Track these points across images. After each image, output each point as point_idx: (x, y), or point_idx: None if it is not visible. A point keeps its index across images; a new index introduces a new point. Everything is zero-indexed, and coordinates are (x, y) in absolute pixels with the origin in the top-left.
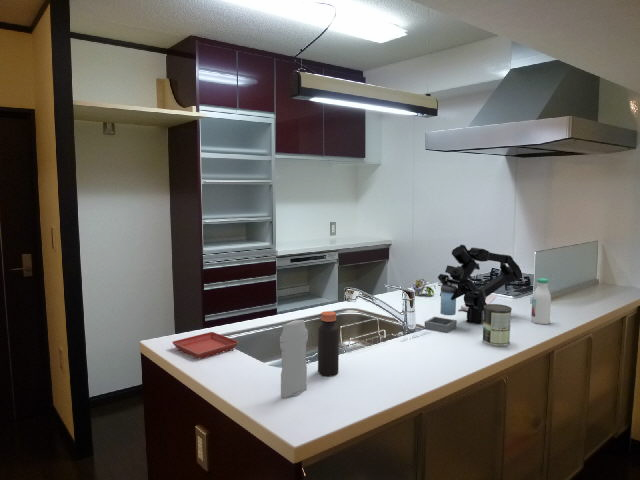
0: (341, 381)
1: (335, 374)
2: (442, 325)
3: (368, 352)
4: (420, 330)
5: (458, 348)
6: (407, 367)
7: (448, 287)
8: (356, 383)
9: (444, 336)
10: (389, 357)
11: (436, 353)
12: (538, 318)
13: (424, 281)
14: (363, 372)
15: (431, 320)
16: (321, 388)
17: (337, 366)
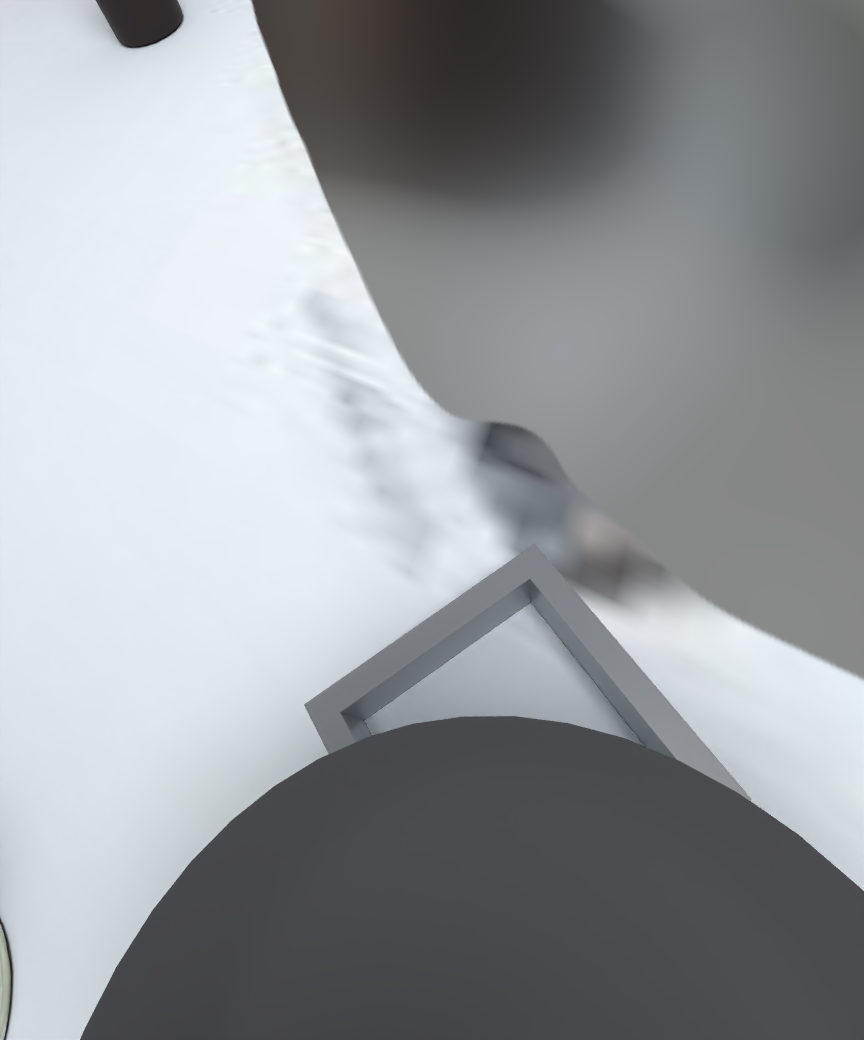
0: (74, 53)
1: (117, 38)
2: (360, 668)
3: (245, 138)
4: (489, 508)
5: (15, 561)
6: (19, 225)
7: (279, 1007)
8: (36, 81)
9: (262, 619)
10: (146, 194)
11: (47, 394)
12: None
13: None
14: (87, 102)
15: (602, 672)
16: (71, 18)
17: (102, 11)
